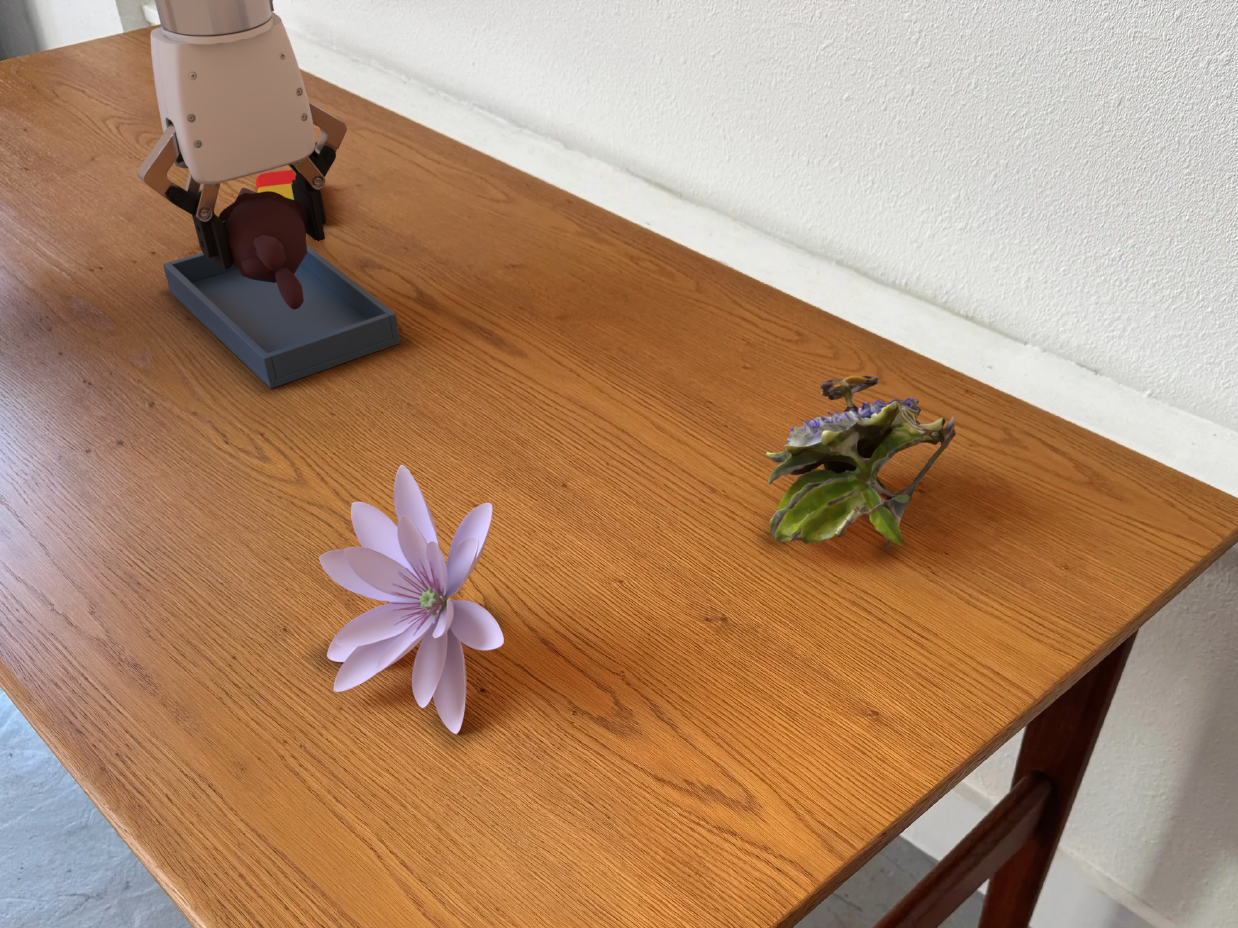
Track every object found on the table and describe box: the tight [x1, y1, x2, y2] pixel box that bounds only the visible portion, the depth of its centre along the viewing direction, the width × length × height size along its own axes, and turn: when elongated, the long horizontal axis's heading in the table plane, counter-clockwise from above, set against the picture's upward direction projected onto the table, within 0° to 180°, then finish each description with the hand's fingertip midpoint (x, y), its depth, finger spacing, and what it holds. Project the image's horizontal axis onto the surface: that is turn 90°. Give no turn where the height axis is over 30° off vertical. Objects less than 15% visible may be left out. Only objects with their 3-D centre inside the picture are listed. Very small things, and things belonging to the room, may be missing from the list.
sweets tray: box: [162, 244, 401, 389], centre depth 100 cm, size 11×19×3 cm, turn 38°
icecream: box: [218, 187, 308, 310], centre depth 96 cm, size 7×7×15 cm
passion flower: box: [765, 375, 957, 552], centre depth 79 cm, size 11×11×12 cm
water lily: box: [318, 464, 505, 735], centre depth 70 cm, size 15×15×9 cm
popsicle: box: [255, 169, 296, 200], centre depth 113 cm, size 6×15×2 cm, turn 17°
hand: (267, 247), depth 97 cm, fingers closed on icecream, 7 cm apart
